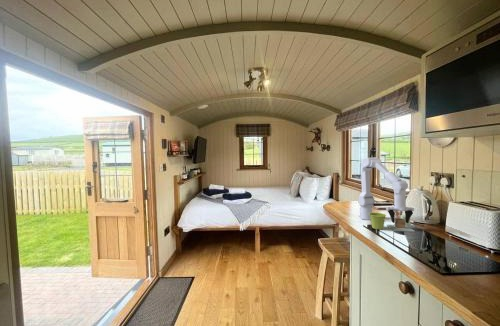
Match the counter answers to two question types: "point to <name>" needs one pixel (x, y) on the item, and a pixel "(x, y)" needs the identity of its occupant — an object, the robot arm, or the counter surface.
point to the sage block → (404, 218)
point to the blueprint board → (401, 228)
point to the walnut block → (399, 223)
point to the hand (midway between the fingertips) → (400, 222)
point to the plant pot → (377, 220)
